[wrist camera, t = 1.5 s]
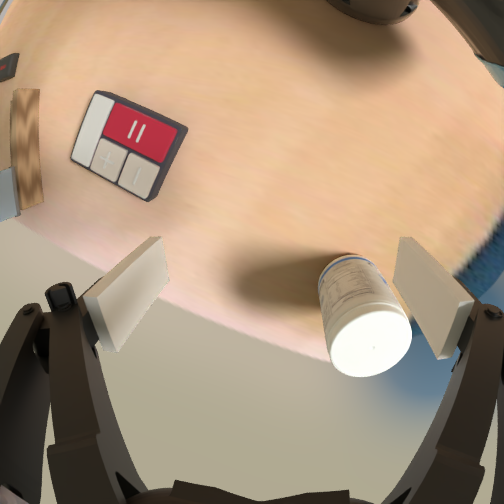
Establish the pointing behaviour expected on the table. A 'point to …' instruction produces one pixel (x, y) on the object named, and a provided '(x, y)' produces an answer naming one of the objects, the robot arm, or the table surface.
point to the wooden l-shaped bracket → (26, 146)
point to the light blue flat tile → (8, 194)
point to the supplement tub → (361, 317)
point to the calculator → (127, 144)
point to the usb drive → (8, 66)
